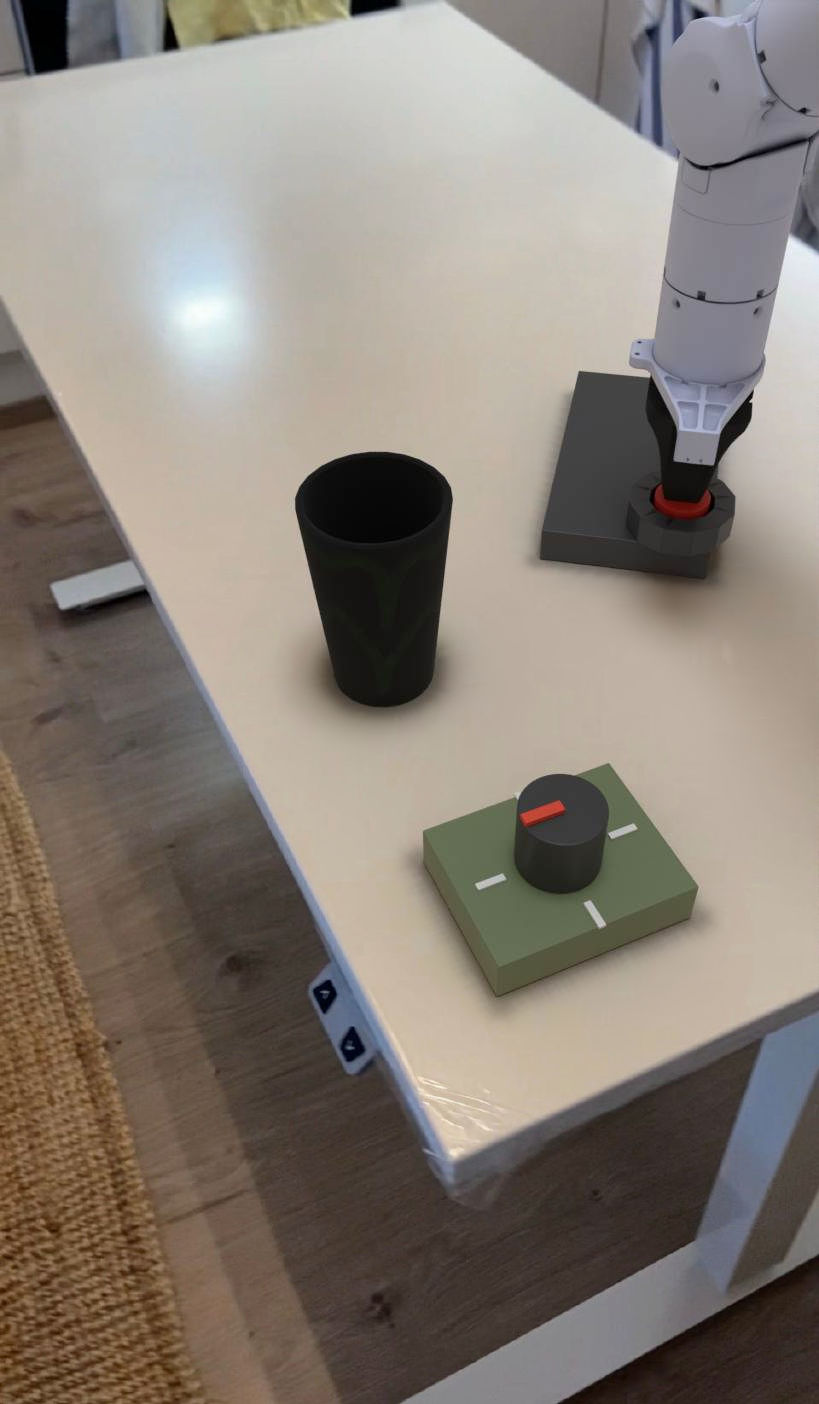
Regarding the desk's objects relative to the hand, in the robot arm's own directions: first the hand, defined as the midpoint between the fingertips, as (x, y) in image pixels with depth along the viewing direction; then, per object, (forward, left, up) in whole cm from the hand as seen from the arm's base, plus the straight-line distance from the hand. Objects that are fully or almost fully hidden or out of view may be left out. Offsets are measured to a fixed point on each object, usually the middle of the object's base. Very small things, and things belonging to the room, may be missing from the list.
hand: (682, 495), depth 70 cm
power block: (+2, -7, -4) cm, 8 cm away
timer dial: (+7, +25, -2) cm, 26 cm away
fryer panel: (+7, +25, -4) cm, 27 cm away
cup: (+17, +11, -4) cm, 21 cm away
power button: (0, 0, -2) cm, 2 cm away
